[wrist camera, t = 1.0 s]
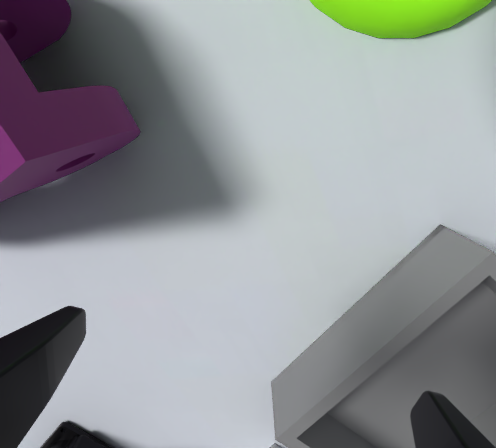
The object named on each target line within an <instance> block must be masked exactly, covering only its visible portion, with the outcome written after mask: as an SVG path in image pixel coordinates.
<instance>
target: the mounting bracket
mask: <svg viewBox="0 0 496 448" xmlns="http://www.w3.org/2000/svg"><path fill="white" fill-rule="evenodd" d="M70 20H71V10H70V7H69V4H68V2H67V1H66V0H0V202H2V201H4V200H6V199H8V198H10V197H13V196H15V195H18V194H20V193H23V192H26V191H28V190H31V189H34V188H36V187H39V186H42V185H44V184H47V183H49V182H52V181H54V180H57V179H59V178H62V177H64V176H66V175H69V174H71V173H73V172H75V171H78V170H80V169H82V168H84V167H86V166H88V165H90V164H92V163H94V162H96V161H98V160H100V159H102V158H103V157H105V156H107V155H109V154H111V153H113V152H115V151H116V150H118V149H120V148H122V147H124V146H125V145H127V144H128V143H130V142H131V141H133V140H134V139H135V138H136V137H138V136H139V134H140V130H139V128H138V126H137V125H136V123H135V121H134V119H133V117H132V116H131V114H130V112H129V110H128V109H127V107H126V105H125V103H124V101H123V100H122V98H121V96H120V94H119V93H118V91H117V90H116V89H115V88H113V87H111V86H102V85H99V86H86V87H78V88H70V89H61V90H53V91H45V92H38V91H37V89H36V88H35V86H34V84H33V83H32V81H31V80H30V78H29V77H28V75H27V73H26V72H25V70H24V69H23V67H22V66H21V64H20V62H22V61H25V60H26V59H28V58H29V57H31V56H33V55H34V54H36V53H38V52H39V51H41V50H42V49H44V48H46V47H47V46H49V45H51V44H52V43H54V42H55V41H57V40H59V39H60V38H61V37H62V35H63V34H64V33H65V31H66V30H67V28H68V26H69V23H70Z"/></svg>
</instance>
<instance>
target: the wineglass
mask: <svg viewBox="0 0 496 448" xmlns="http://www.w3.org/2000/svg"><path fill="white" fill-rule="evenodd" d="M310 1H311V3H312V4H313V5H314V6H315V7H316V8H317V9H319V10H320V11H321V12H323V13H324V14H326V15H327V16H329V17H330V18H332V19H333V20H334V21H336V22H337V23H339V24H340V25H342V26H343V27H345V28H347V29H351V30H354V31H357V32H360V33H363V34H367V35H370V36H373V37H376V38H416V37H419V36H423V35H426V34H430V33H433V32H436V31H440V30H443V29H447V28H450V27H452V26H454V25H455V24H457V23H459V22H460V21H462V20H464V19H465V18H467V17H469V16H470V15H472V14H474V13H476V12H477V11H479V10H481V9H482V8H484V7H486V6H487V5H488V4H489V3H490V2H491V1H492V0H310Z"/></svg>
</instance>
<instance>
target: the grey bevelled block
mask: <svg viewBox="0 0 496 448" xmlns="http://www.w3.org/2000/svg"><path fill="white" fill-rule="evenodd" d="M270 448H281V447H280V446H278V445H277V444H275V443H274V444H273V445H272V446H271V447H270Z"/></svg>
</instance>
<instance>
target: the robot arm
mask: <svg viewBox="0 0 496 448" xmlns="http://www.w3.org/2000/svg"><path fill="white" fill-rule="evenodd" d="M85 335H86V313H85V310H84V309H82V308H78V307H74V306H67V307H64V308H62V309H60V310H58V311H56V312H54V313H52V314H50V315H47V316H45V317H43V318H41V319H39V320H37V321H35V322H33V323H31V324H29V325H27V326H24V327H22V328H20V329H18V330H16V331H14V332H12V333H10V334H8V335H6V336H4V337H2V338H0V448H17V447H18V445H19V444H20V442H21V441H22V440H23V438H24V437H25V435H26V434H27V432H28V431H29V430H30V428H31V427H32V425H33V424H34V422H35V421H36V419H37V418H38V417H39V415H40V414H41V412H42V411H43V409H44V408H45V406H46V405H47V403H48V402H49V400H50V399H51V397H52V396H53V394H54V392H55V390H56V389H57V387H58V385H59V383H60V382H61V380H62V378H63V376H64V375H65V373H66V371H67V369H68V367H69V366H70V364H71V362H72V360H73V359H74V357H75V355H76V353H77V351H78V350H79V348H80V346H81V344H82V342H83V341H84V338H85ZM410 421H411V426H412V432H413V437H414V443H415V448H496V447H495V446H494V445H493V444H492V443H491V442H490V441H489V440H488V439H487V438H486V437H485V436H484V435H483V434H482V433H481V432H480V431H479V430H478V429H477V428H476V427H475V426H474V425H473V424H472V423H471V422H470V421H469V420H468V419H467V418H466V417H465V416H464V415H463V414H462V413H461V412H460V411H459V410H458V409H457V408H456V407H455V406H454V405H453V404H452V403H451V402H450V401H449V400H448V399H447V398H446V397H445V396H444V395H443V394H441V393H437V392H433V391H429V390H426V391H424V392H423V393H422V394H421V396H420V397H419V399H418V400H417V402H416V403H415V404H414V406H413V407H412V409H411V413H410ZM40 448H112V447H110V446H108V445H106V444H105V443H103V442H101V441H99V440H98V439H96V438H94V437H92V436H91V435H89V434H87V433H85V432H84V431H82V430H80V429H78V428H77V427H75V426H73V425H71V424H70V423H67V422H62V423H61V424H60V425H59V426H58V427H57V429H56V430H55V431H54V432H53V433H52V435H51V436H50V437H49V438H48V439H47V440H46V442H45V443H44V444H43V445H42V446H41V447H40Z"/></svg>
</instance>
